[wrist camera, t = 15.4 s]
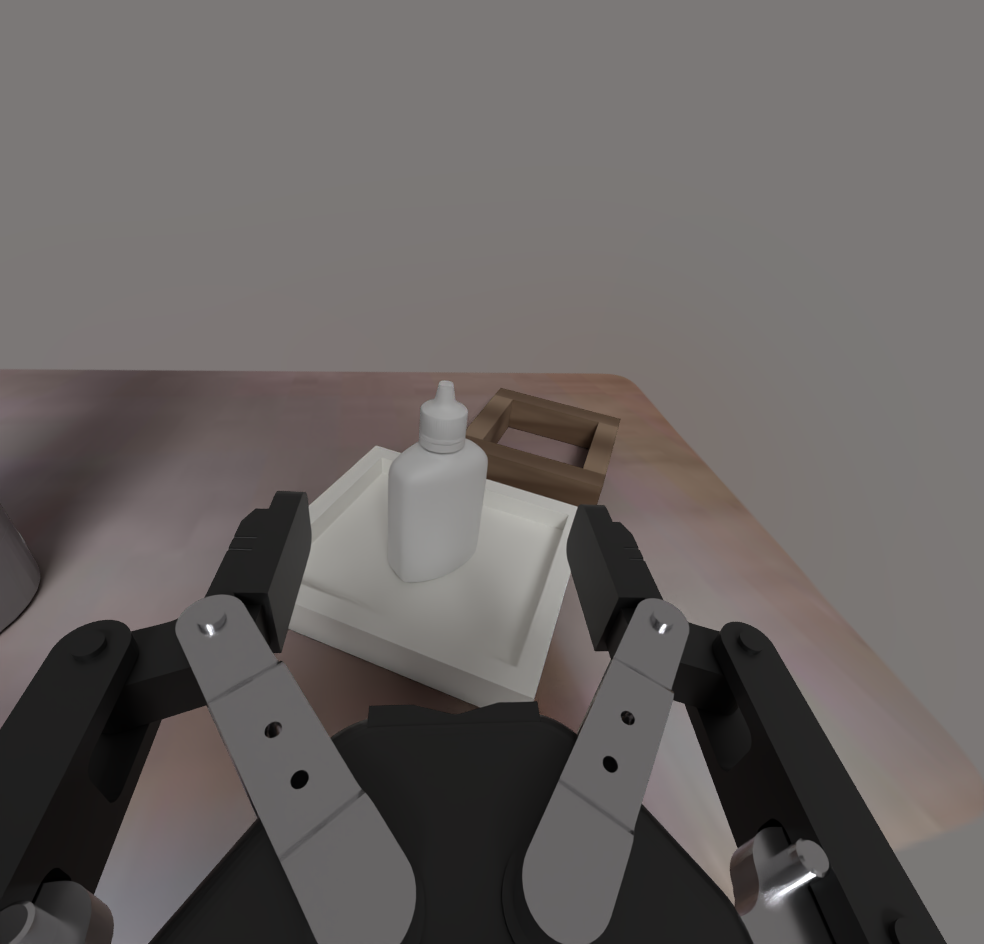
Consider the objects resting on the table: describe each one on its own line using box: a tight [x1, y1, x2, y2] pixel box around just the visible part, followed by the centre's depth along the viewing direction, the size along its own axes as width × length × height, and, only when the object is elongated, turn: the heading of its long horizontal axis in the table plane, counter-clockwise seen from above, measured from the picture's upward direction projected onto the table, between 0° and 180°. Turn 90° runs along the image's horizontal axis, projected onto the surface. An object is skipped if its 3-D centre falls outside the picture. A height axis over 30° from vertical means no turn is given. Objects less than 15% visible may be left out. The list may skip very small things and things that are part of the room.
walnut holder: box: [465, 388, 620, 507], centre depth 42 cm, size 12×12×3 cm
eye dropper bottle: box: [388, 381, 488, 583], centre depth 27 cm, size 4×6×12 cm
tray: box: [288, 446, 578, 708], centre depth 30 cm, size 15×17×2 cm
